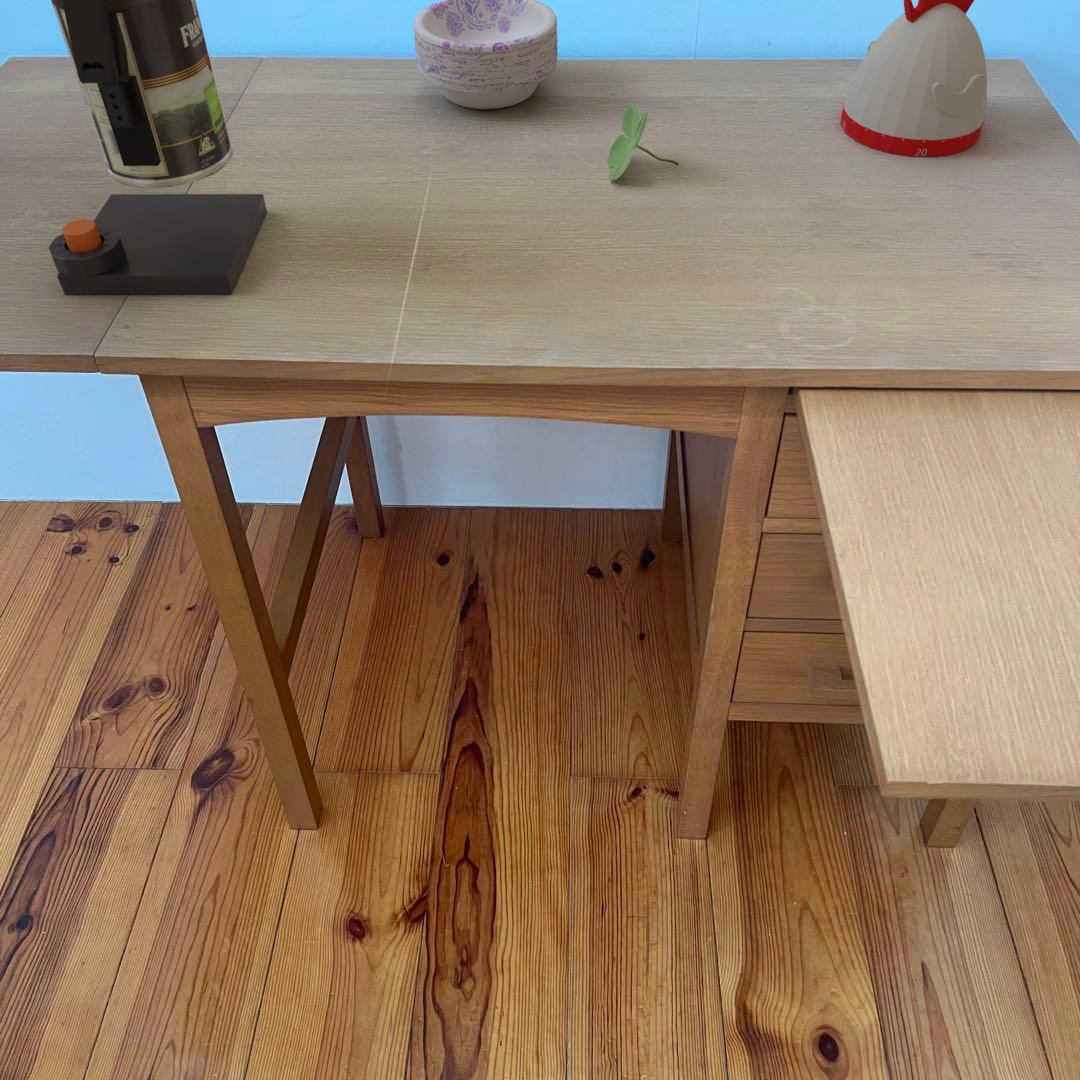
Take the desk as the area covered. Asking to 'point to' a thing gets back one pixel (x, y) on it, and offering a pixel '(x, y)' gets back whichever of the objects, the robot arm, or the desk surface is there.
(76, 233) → the button
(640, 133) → the seedling
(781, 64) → the desk surface
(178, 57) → the coffee can
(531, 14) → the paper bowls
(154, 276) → the scale
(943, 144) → the kitchen timer
